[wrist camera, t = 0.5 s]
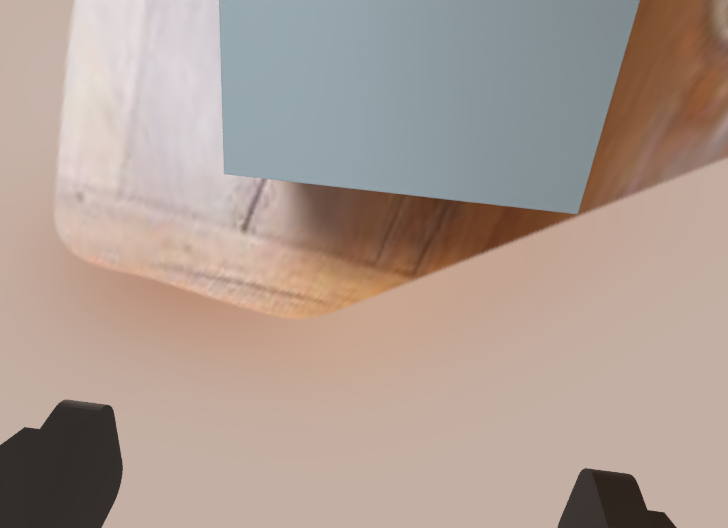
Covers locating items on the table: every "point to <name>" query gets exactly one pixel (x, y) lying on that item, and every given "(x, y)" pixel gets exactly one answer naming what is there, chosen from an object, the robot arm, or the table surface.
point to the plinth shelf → (422, 94)
